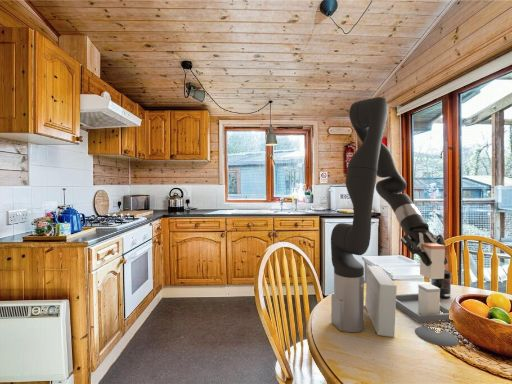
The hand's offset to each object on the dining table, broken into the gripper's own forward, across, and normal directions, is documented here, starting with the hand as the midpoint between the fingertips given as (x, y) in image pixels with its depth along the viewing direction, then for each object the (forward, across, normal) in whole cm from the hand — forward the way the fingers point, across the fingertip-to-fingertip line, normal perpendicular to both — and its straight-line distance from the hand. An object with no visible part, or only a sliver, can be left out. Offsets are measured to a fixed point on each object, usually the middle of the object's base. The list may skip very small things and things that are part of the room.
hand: (437, 264), depth 85 cm
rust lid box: (+2, 0, +4) cm, 5 cm away
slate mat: (+16, -1, +15) cm, 22 cm away
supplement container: (-3, +24, +34) cm, 42 cm away
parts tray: (+4, +7, +26) cm, 28 cm away
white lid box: (+7, +7, +23) cm, 25 cm away
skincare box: (+8, -12, +24) cm, 27 cm away
